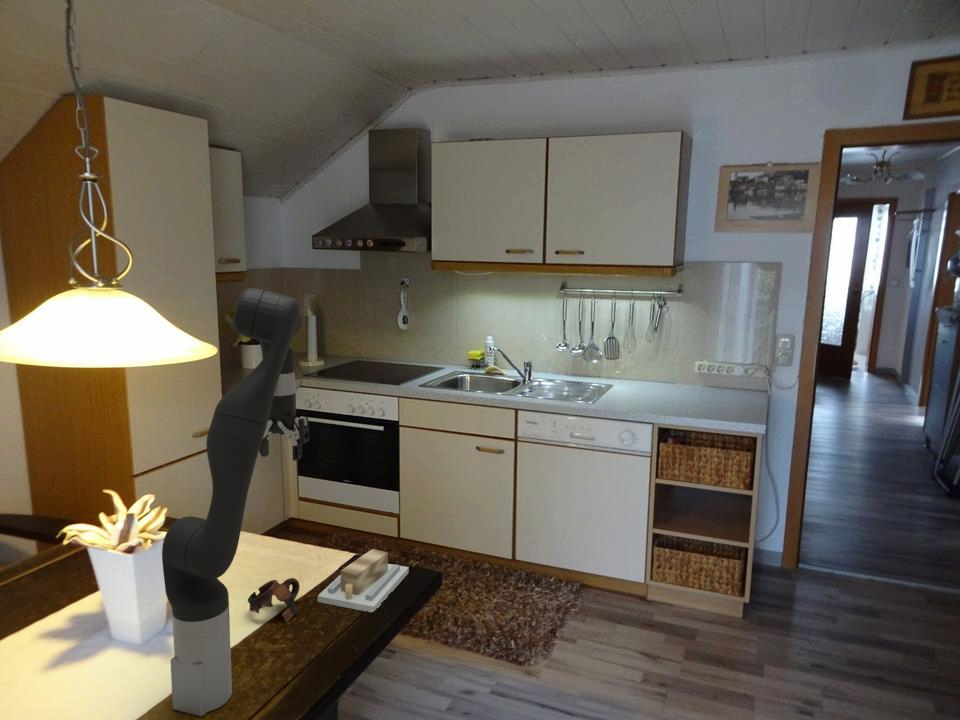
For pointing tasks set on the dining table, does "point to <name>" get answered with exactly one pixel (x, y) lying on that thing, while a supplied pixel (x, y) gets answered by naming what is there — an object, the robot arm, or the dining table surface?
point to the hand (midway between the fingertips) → (280, 457)
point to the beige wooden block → (364, 571)
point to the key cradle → (368, 597)
